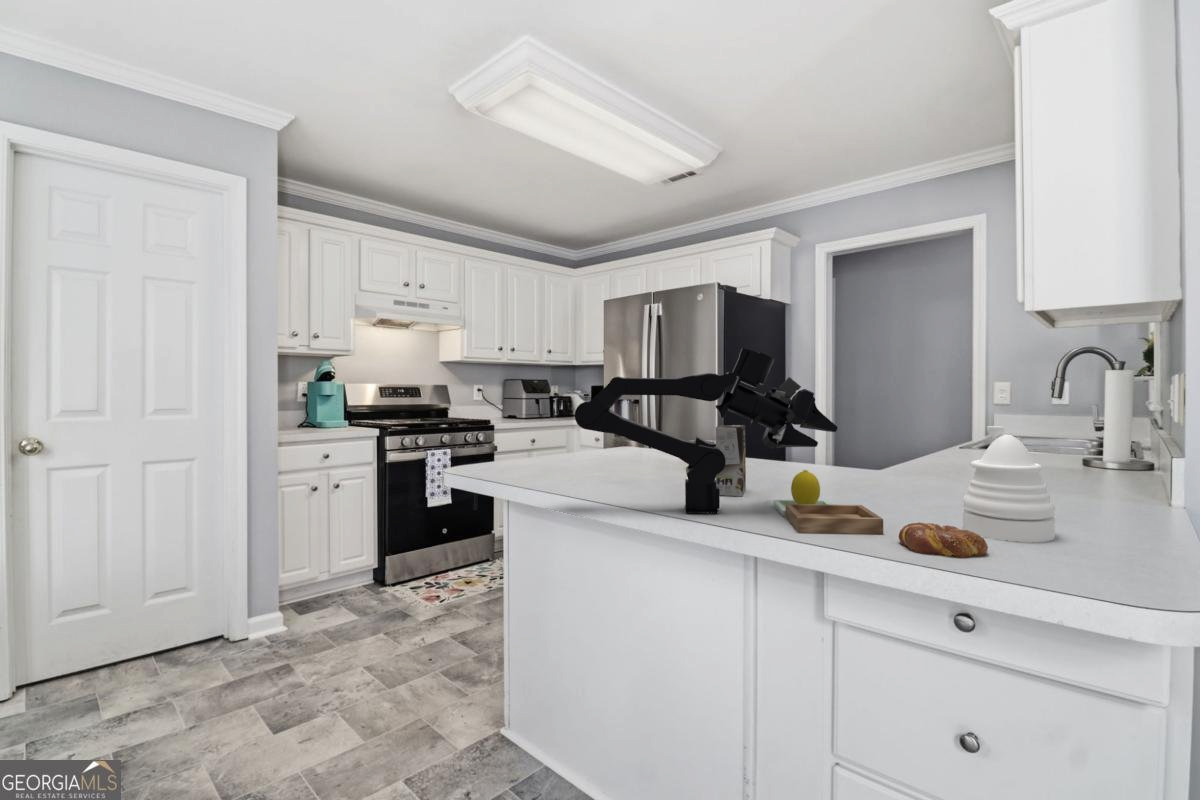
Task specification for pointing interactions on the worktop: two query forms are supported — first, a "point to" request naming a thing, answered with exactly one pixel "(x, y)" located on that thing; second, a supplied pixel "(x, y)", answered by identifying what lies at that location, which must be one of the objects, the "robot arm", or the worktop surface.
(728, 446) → the coffee box
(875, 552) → the worktop surface
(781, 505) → the dish
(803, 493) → the lemon
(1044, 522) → the honey pot
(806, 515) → the tray
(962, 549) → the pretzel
